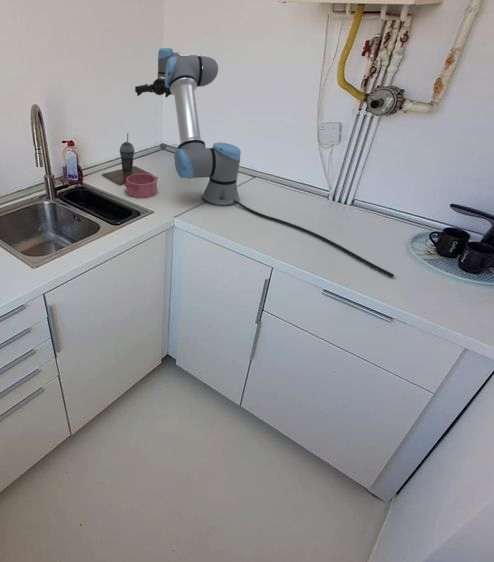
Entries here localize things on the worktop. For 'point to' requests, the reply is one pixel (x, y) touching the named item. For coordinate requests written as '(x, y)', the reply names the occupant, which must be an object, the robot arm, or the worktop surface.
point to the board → (119, 177)
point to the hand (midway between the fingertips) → (151, 93)
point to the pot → (141, 185)
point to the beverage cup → (127, 157)
